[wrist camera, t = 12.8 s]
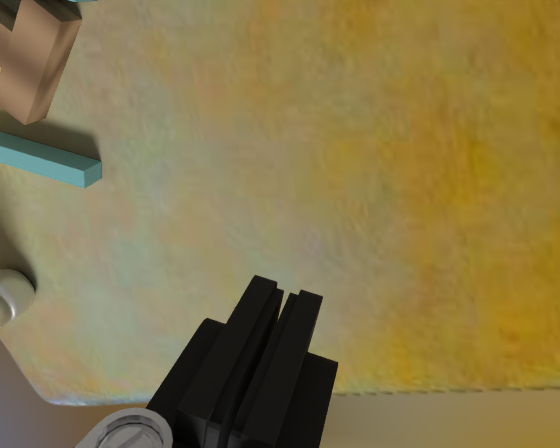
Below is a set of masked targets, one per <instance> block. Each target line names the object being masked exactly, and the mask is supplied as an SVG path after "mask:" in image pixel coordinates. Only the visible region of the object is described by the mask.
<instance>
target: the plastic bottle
mask: <svg viewBox="0 0 560 448" xmlns="http://www.w3.org/2000/svg"><path fill="white" fill-rule="evenodd" d="M34 295H35V293H34V289H33V286H32V284H31V283H30V281H29V280H28V279H27V278H26V277H25V276H24V275H23V274H21V273H20V272H18V271H16V270H13V269H0V328H1V327H2V326H4V325H5V324H7V323H8V322H11V321H13V320H14V319H16V318H18V317H19V316H21V315H22V314H24V313H25V312H26V311H27V310H28V309H29V307H30V306H31V305H32V303H33V300H34Z"/></svg>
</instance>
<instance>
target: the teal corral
mask: <svg viewBox="0 0 560 448" xmlns="http://www.w3.org/2000/svg"><path fill="white" fill-rule="evenodd" d="M69 1H73V2H84V1H97V0H69ZM0 163H3V164H6V165H10V166H13V167H16V168H19V169H23V170H26V171H29V172H32V173H36V174H39V175H42V176H45V177H49V178H52V179H55V180H59V181H62V182H65V183H68V184H72V185H75V186H78V187H81V188H86V187H88V186H90V185H91V184H93V183H95V182H96V181H98V180H99V179H101V178H102V167H101V161H98V160H94V159H91V158H88V157H84V156H81V155H77V154H74V153H71V152H67V151H64V150H61V149H57V148H54V147H50V146H47V145H44V144H40V143H37V142H33V141H30V140H27V139H23V138H20V137H16V136H13V135H10V134H6V133H3V132H0Z"/></svg>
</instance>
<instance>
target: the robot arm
mask: <svg viewBox="0 0 560 448" xmlns="http://www.w3.org/2000/svg"><path fill="white" fill-rule="evenodd" d="M283 294H284V290H281V289H278V288H277V282H276V281H273V280H270V279H267V278H263V277H260V276H257V275H255V276H254V277H253V278H252V280H251V282H250V284H249V285H248V287H247V289H246V290H245V292H244V294H243V295H242V297H241V299H240V301H239V302H238V304H237V306H236V307H235V309H234V311H233V312H232V314H231V316H230V318H229V319H228V321H227V323H226V324H224V323H221V322H218V321H215V320H212V319H209V318H206V319H205V320H204V321H203V322H202V323H201V325H200V326H199V328H198V329H197V331H196V332H195V334H194V335H193V337H192V338H191V340H190V341H189V343H188V344H187V346H186V347H185V349H184V350H183V352H182V353H181V355H180V357H179V358H178V360H177V361H176V363H175V364H174V366H173V367H172V369H171V370H170V372H169V373H168V375H167V376H166V378H165V379H164V381H163V382H162V384H161V385H160V387H159V388H158V390H157V391H156V393H155V394H154V396H153V397H152V399H151V400H150V402H149V404H148V405H147V407H146V408H144V409H143V408H129V409H123V410H119V411H117V412H115V413H113V414H111V415H108V416H107V417H106V418H105V419H103V420H102V421H101V422H100V423H98V424H97V425H96V426H95V427H94V428H93V429H92V430H91V431H90V433H88V435H87V436H86V437H85V438H84V439H83V440H82V441H81V442H80V443H79V444H78V445H77V446H76V447H74V448H319V445H320V441H321V436H322V432H323V428H324V424H325V419H326V415H327V411H328V406H329V402H330V398H331V394H332V389H333V385H334V381H335V376H336V372H337V368H338V362H336V361H333V360H330V359H327V358H324V357H321V356H318V355H315V354H312V353H309V352H308V349H309V345H310V341H311V338H312V334H313V331H314V327H315V324H316V320H317V317H318V313H319V310H320V306H321V303H322V299H323V296H320V295H317V294H314V293H310V292H307V291H304V290H300V293H299V295H296V294H293V293H290V294H289V297H288V299H287V301H286V303H285V306H284V308H283V310H282V312H281V315H280V317H279V319H278V316H279V312H280V307H281V303H282V298H283ZM277 321H278V322H277Z"/></svg>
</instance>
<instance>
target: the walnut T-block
mask: <svg viewBox="0 0 560 448" xmlns="http://www.w3.org/2000/svg"><path fill="white" fill-rule="evenodd" d="M81 22H82V19H81V18H80V17H78V16H77V15H76V14H75V13H73V12H72V11H71V10H70V9H68V8H67V7H66V6H65V5H63V4H62V3H61V2H59V1H58V0H21V3H20V6H19V10H18V13H17V15H16V14H15V13H14V12H13V11H11V10H10V9H9V8H8V7H6V6H5V5H4V4H2V3H1V2H0V67H1V68H2V69H1V72H0V107H1V108H3V109H4V110H5V111H7V112H8V113H9V114H10V115H12V116H13V117H14V118H16V119H17V120H18V121H20V122H21V123H22V124H24V125H28V124H30V123H33V122H36V121H39V120H41V119H44V118H46V115H47V113H48V110H49V107H50V105H51V102H52V99H53V97H54V94H55V91H56V89H57V86H58V83H59V81H60V78H61V75H62V73H63V70H64V67H65V65H66V62H67V59H68V57H69V54H70V51H71V49H72V46H73V43H74V41H75V38H76V35H77V33H78V30H79V27H80V25H81Z"/></svg>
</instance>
